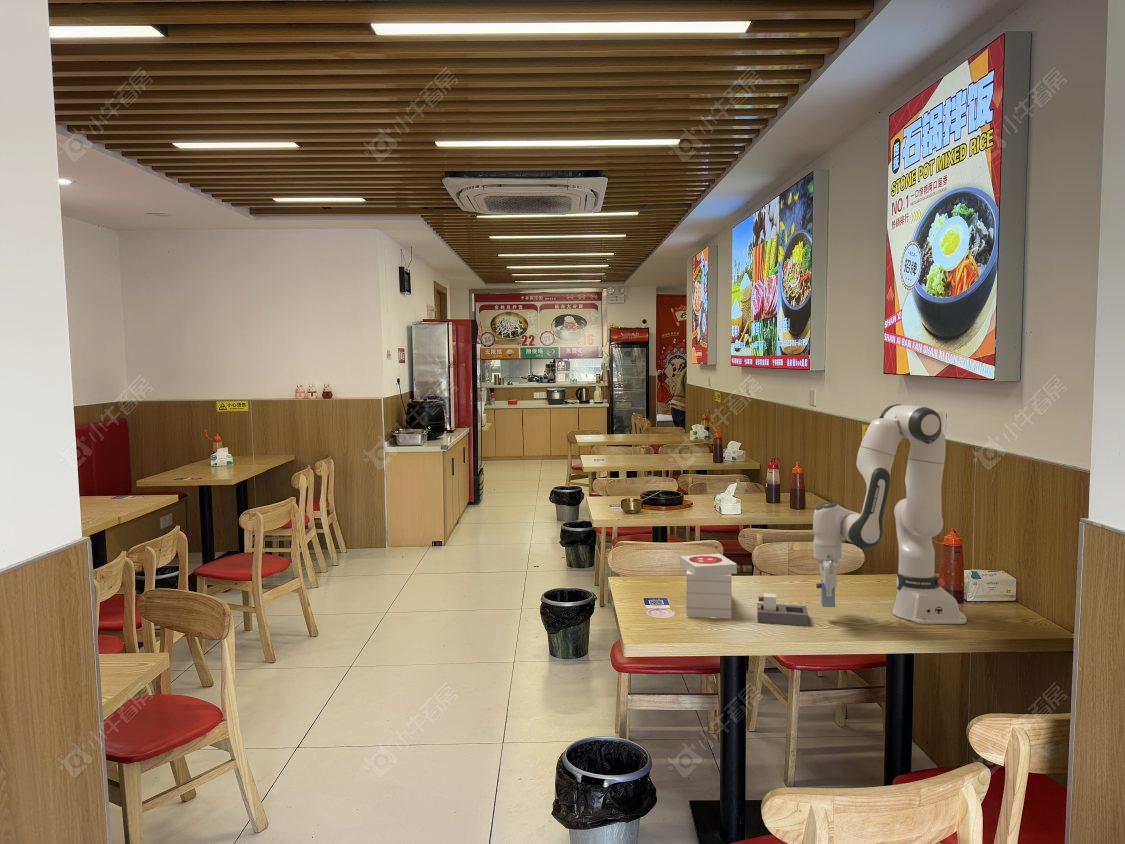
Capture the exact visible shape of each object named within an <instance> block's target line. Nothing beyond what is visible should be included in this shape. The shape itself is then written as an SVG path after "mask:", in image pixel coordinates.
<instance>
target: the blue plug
mask: <svg viewBox="0 0 1125 844" xmlns="http://www.w3.org/2000/svg"><path fill="white" fill-rule="evenodd" d="M815 584H816V589H820V592H821V593H820V599H821V600H820V602H821V607H823V608H836V588H832V596H831V597H828V596H826V587H825V585H824V582H823V579H820V582H817V583H815Z"/></svg>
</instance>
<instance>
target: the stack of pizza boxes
mask: <svg viewBox="0 0 1125 844" xmlns="http://www.w3.org/2000/svg"><path fill="white" fill-rule="evenodd" d="M679 565H680V566H681V567H682V568H683V569H685V570H686V606H685V607H686V616H691V617H690V618H695V617H715V618H714V619H717V618H731V619H732V578H733V577H732V574H735V575H736V574H737V573H738V564H737V563H736V562H734V561H732V560H731V559H729V558H727V557H726V556H724V555H723V554H721V553H711V554H709V553H708V554H696V555H695V554H694V555H692V554H691V555H680V556H679Z"/></svg>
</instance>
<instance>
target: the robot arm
mask: <svg viewBox="0 0 1125 844" xmlns="http://www.w3.org/2000/svg"><path fill="white" fill-rule="evenodd" d="M904 439H908V441H909V444H910V446H909V451H908V452H909V453H908V457H907V463H906V471H905V477H904V483H905V491H906V492H905V494H906V495H905V496H906V497H905V498H902V499H900V500H899V501H898V502H896V504H895V506H894V509H893V513H894V514H893V515H894V519H895V527H896V528H895V529H896V530H895V531H896V538H897V544H898V546H897V547H898V567H897V568H898V571H897V572H896V582H895V585H896V595H895V600H894V605H893V608H892V610H891V612H892V614H893V615H894V616H896V617H898V618H901V619H904V620H909V621H912V622H913V623H917V624H922V625H924V624H925V625H926V624H928V625H929V624H930V625H931V624H932V625H934V624H935V625H936V624H938V625H941V624H942V625H946V624H947V625H963V624H966V623H967V622H968V619H967V616H966V614H964V613H963V612H962V611H960V609H959V604H958V601H957V599H956V598H955V597H954V596H953V595H952V594H950V593H949V592H948V591H947V590H945V589H944V588H943V587H942V586H944V585H945V584H946V583H945V580H944V579H942V578H941V577H939V576H938V575H936V574H935V563H936V561H935V559H936V557H935V556H936V553H935V548H934V544H933V539H932V538H934V537H936V536H938V535H939V534H940V533H941V531H942V530H943V527H944V519H943V515H942V511H943V510H942V506H943V505H942V483H943V474H944V467H945V462H946V460H945V459H946V452H947V451H946V449H947V448H946V443H947V442H946V436H945V433H944V432H943V431H942V418H941V416H940V414H939V413H938V412H937V411H935V410H934V409H932V408H930V407H925V406H920V405H916V404H915V405H914V404H899V403H896V404H892V405H891V404H890V405H889V406H887V407H885V409H884V410H883V411H882V412H881V414H880V416H879V417H878V418H875V419H873V420H872V421H871V422H870V424H869V425H868V427H867V429H866V431H865V432H864V435H863V437H862V440H861V443H860V445H859V449H858V452H857V456H856V468H857V470H858V471H859V473H860V475H861V476H862V478H863V479H864V482H865V485H866V486H865V487H866V493H865V497H864V499H863V500H864V502H863V505H862V510H861V512H856V511H853V510H850V509H847V508H844V507H843V506H841V505H839V504H838V503H837V502H824V503H821V504H820V503H819V505H817V506H816V507H815V508H814V511H813V515H812V516H813V517H812V532H813V536H814V537H813V541H812V544H813V545H812V546H813V550H812V551H813V558H814V559H816V560H817V563H818V568H819V572H820V576H821V580H823V582H824V585H825V587H826V596H828V597H831V596H832V588H835V589H836V588H837V585H838V583H837V582H838V581H837V578H838V577H837V565H836V564H838V562H839V560H841V559H842V555H843V552H842V548H843V547H842V543H843V541H847V542H849V543H851V544H853V545H854V546H856V547H857V548H858V549H861V550H871V549H874V548H876V547H877V546H878V545H879V544H880V543H881V541H882V539H883V535H884V529H883V518H884V513H885V512H884V511H885V509H886V503H887V500H888V495H889V490H890V485H891V483H890V482H891V471H892V467H893V464H894V460H895V456H896V454H897V449H898V446H899V444H900V442H901V441H902V440H904Z"/></svg>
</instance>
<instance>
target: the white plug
mask: <svg viewBox="0 0 1125 844" xmlns="http://www.w3.org/2000/svg"><path fill="white" fill-rule="evenodd" d="M758 602H760V603H763V610H766V611H776V604H777V593H767V592H764V593H763V596H758Z"/></svg>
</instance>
